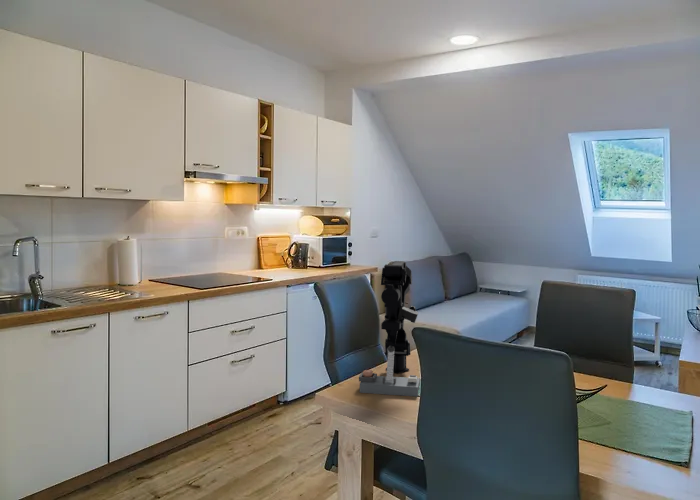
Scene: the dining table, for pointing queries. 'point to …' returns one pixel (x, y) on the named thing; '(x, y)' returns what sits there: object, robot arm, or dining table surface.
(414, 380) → the rocker switch
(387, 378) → the toggle lever
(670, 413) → the dining table surface
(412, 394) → the panel
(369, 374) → the push button
